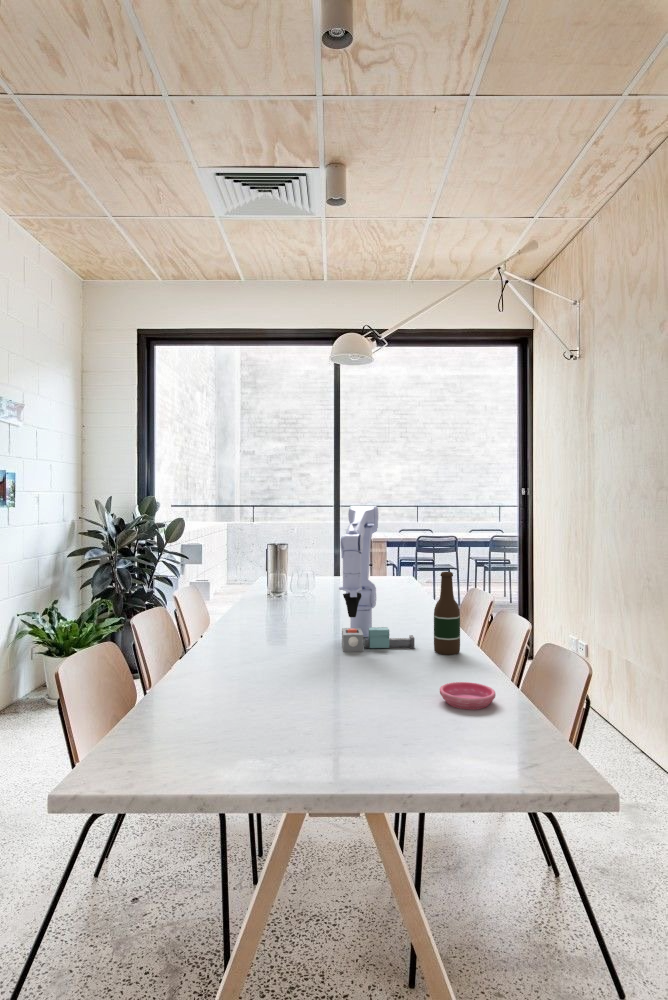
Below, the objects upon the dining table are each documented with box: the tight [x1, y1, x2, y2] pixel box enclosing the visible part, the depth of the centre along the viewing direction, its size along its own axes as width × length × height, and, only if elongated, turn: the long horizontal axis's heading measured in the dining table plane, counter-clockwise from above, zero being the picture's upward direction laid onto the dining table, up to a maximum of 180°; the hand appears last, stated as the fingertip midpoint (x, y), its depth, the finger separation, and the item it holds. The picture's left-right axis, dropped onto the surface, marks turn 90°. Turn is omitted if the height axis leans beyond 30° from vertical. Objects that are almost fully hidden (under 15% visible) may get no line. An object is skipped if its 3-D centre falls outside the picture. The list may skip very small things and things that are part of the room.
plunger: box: [348, 629, 357, 633], centre depth 197 cm, size 3×3×4 cm
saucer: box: [439, 681, 496, 710], centre depth 145 cm, size 12×12×3 cm
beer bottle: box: [433, 571, 461, 656], centre depth 191 cm, size 8×8×24 cm
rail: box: [364, 634, 415, 649], centre depth 198 cm, size 4×15×3 cm, turn 92°
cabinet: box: [341, 627, 364, 653], centre depth 197 cm, size 10×6×5 cm, turn 2°
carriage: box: [368, 626, 390, 649], centre depth 198 cm, size 4×6×5 cm
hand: (352, 616), depth 197 cm, fingers closed
